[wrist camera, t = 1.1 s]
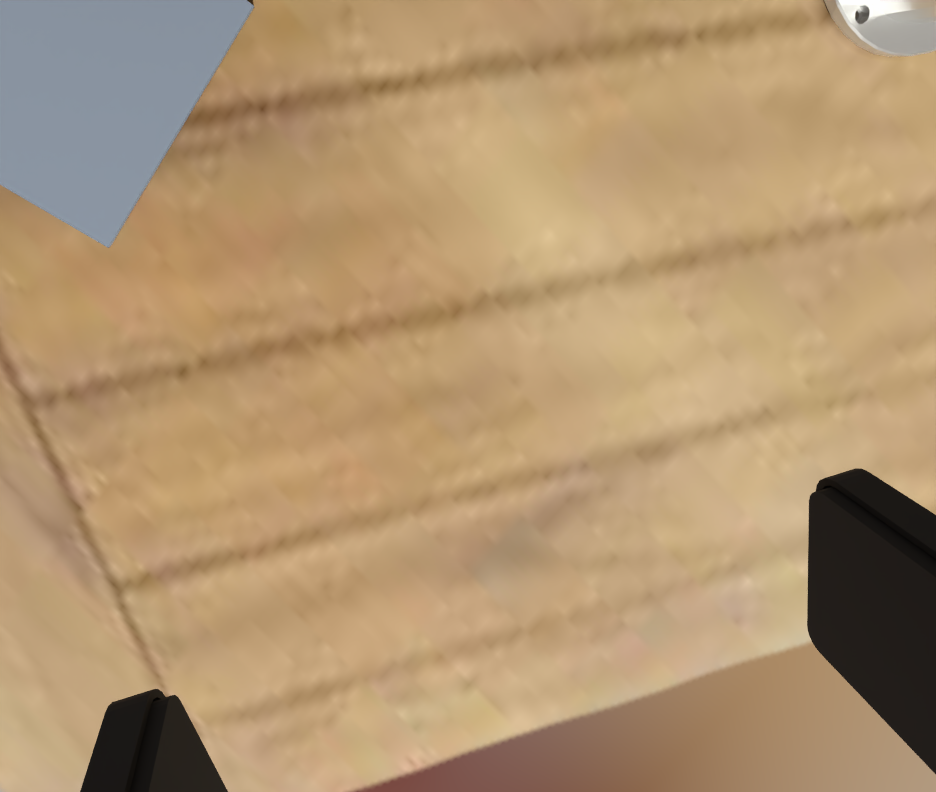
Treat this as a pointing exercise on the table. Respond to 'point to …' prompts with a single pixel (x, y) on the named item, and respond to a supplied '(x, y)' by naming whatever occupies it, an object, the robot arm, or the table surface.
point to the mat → (101, 97)
